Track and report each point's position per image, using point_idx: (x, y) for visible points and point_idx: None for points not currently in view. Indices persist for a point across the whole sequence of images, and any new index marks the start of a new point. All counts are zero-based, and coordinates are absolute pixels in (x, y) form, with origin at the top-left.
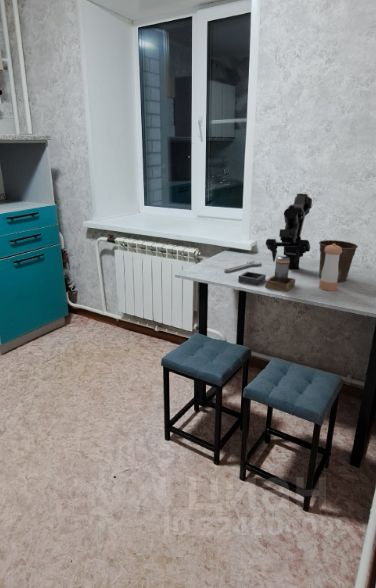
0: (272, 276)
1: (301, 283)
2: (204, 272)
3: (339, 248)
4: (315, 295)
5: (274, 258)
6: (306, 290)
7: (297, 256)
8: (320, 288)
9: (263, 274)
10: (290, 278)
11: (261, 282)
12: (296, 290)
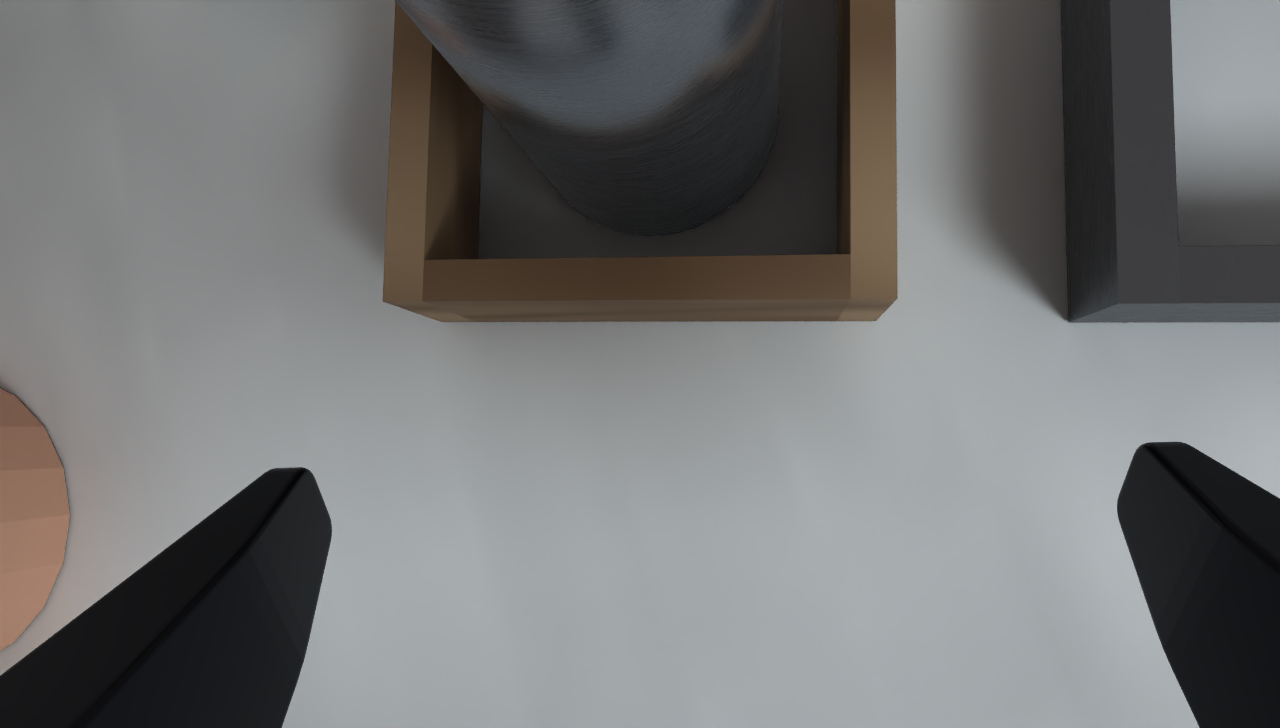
0: (885, 167)
1: (371, 535)
2: None
3: None
4: (43, 32)
5: (1190, 539)
6: (207, 185)
7: (69, 667)
8: (28, 413)
9: (1178, 291)
10: (481, 267)
11: (1063, 108)
12: (345, 80)
